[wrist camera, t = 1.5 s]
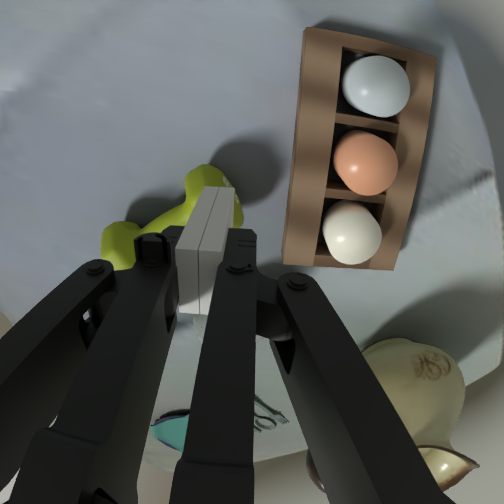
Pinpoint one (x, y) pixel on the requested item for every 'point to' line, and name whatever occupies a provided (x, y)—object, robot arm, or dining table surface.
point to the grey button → (375, 86)
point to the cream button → (351, 232)
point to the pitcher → (421, 403)
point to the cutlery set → (175, 426)
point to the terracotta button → (364, 162)
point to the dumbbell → (164, 218)
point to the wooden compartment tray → (320, 143)
